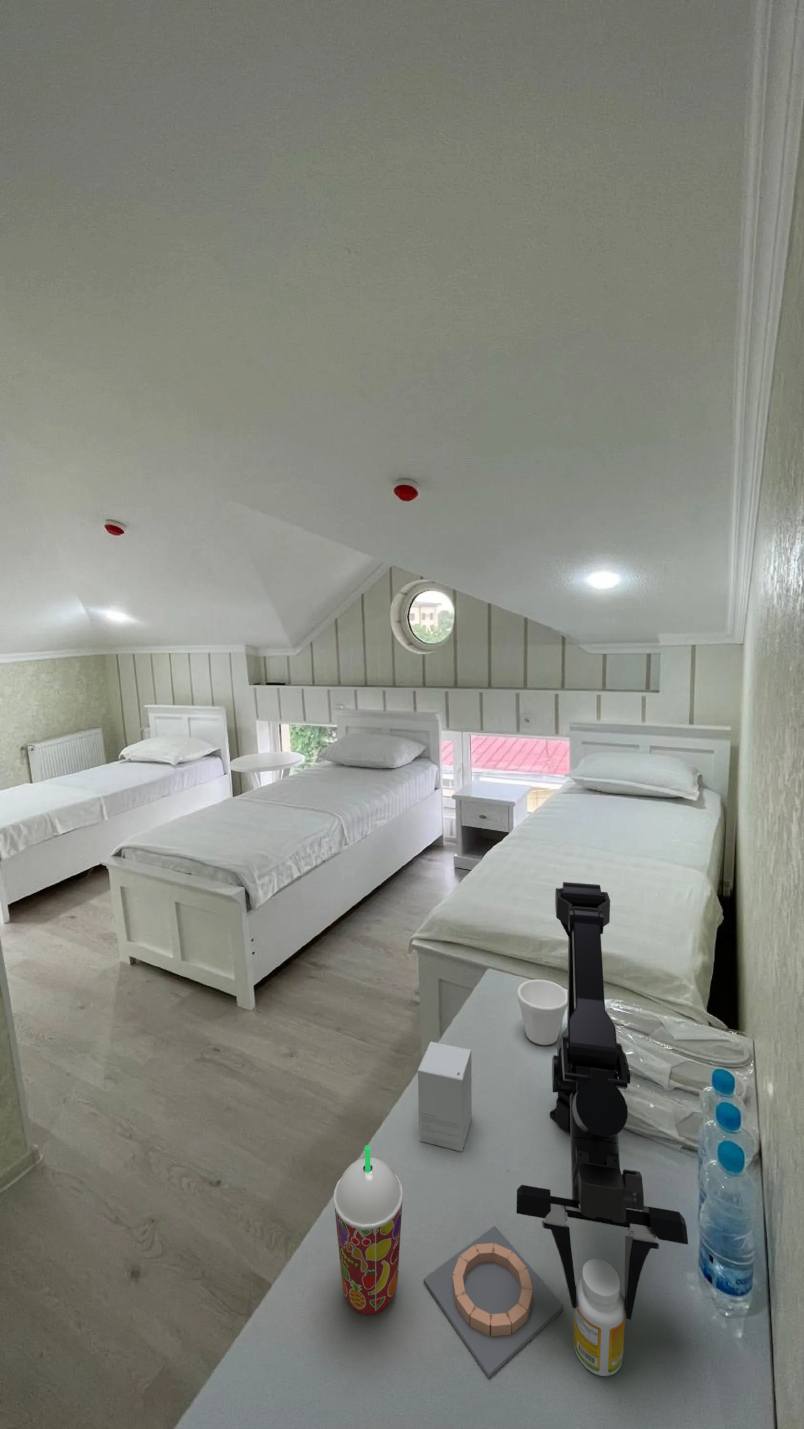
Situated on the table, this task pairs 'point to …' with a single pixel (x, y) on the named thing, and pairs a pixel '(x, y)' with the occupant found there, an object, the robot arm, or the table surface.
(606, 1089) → the robot arm
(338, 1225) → the smoothie
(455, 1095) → the supplement box
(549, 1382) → the table surface
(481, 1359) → the ring seat
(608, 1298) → the supplement bottle
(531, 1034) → the cup
